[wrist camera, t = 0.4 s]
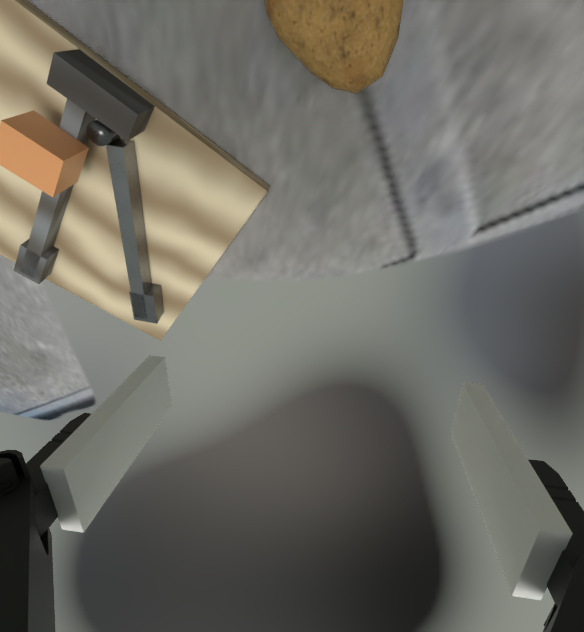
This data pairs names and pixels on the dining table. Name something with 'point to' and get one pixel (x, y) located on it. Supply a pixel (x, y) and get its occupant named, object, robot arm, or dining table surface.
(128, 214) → the upper tong arm
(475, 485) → the robot arm
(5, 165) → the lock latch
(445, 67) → the dining table surface
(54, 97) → the tongs board
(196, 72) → the dining table surface
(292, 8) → the potato
